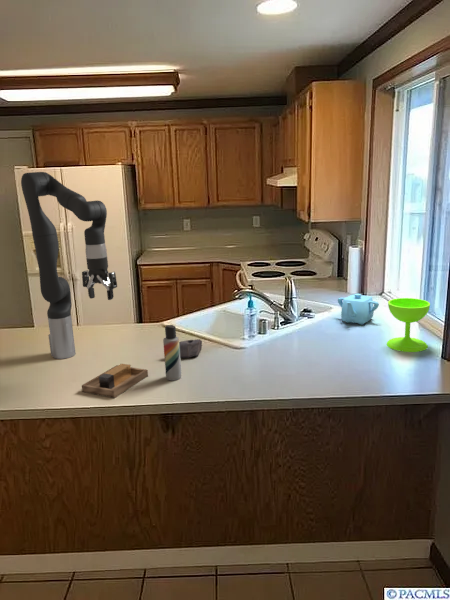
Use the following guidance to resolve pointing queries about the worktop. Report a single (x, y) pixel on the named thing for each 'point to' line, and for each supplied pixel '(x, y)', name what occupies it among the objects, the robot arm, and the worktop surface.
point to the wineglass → (408, 322)
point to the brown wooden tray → (95, 388)
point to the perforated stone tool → (190, 348)
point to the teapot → (357, 308)
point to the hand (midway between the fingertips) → (101, 298)
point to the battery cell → (115, 376)
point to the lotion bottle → (172, 353)
